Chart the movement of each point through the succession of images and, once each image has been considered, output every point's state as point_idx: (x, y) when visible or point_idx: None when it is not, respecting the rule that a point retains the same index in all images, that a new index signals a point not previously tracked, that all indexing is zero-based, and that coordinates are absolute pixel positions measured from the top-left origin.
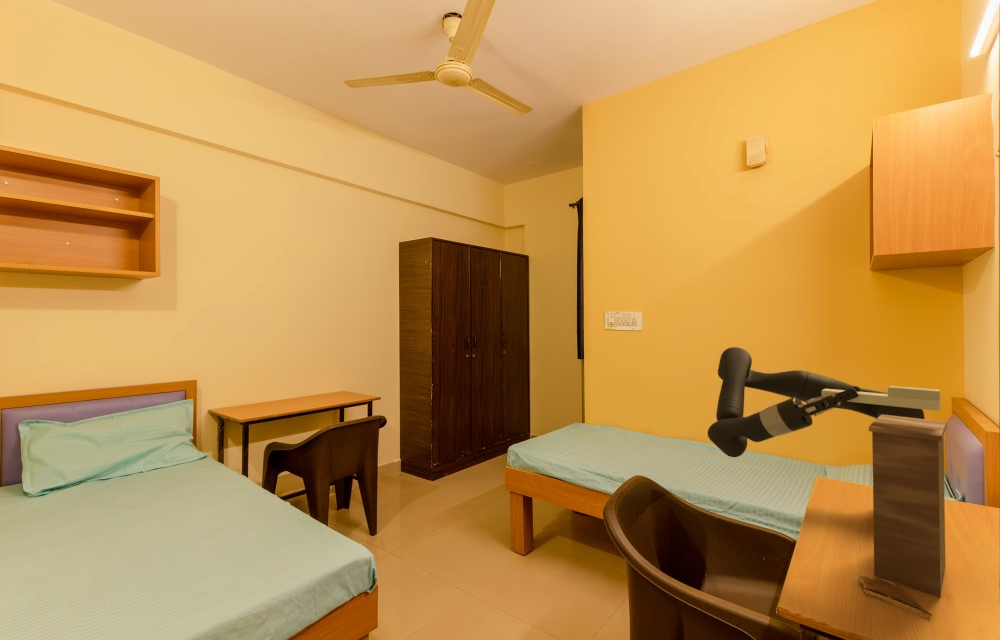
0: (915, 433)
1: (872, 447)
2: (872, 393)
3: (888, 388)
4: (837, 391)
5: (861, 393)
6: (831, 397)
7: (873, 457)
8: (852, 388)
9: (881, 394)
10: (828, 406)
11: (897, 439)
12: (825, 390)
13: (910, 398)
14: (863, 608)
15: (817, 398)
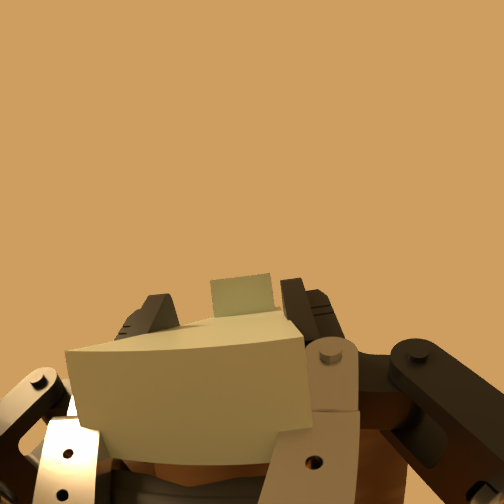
0: None
1: (406, 471)
2: (223, 319)
3: (269, 278)
4: (259, 326)
5: (258, 317)
6: (358, 371)
7: (403, 495)
8: (297, 278)
9: (235, 316)
10: (436, 426)
11: None
12: (269, 335)
13: (277, 308)
14: None
15: (355, 472)
